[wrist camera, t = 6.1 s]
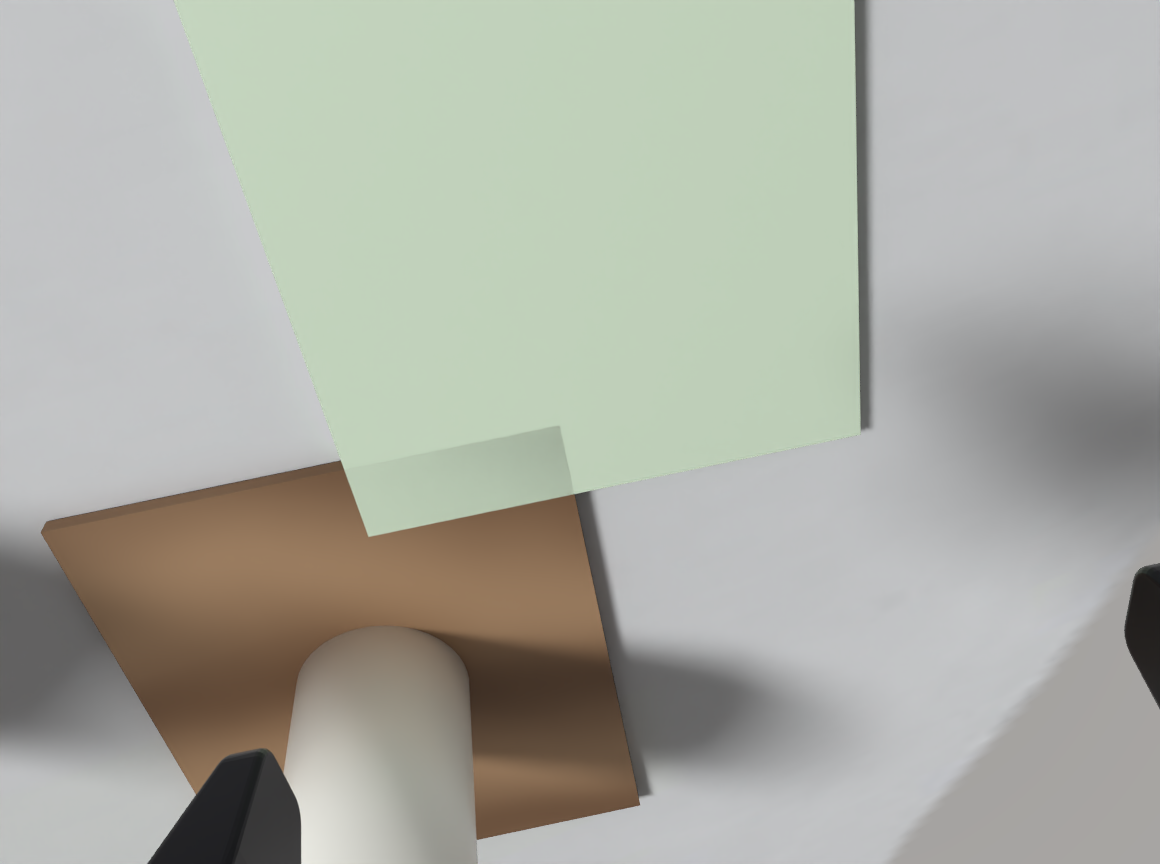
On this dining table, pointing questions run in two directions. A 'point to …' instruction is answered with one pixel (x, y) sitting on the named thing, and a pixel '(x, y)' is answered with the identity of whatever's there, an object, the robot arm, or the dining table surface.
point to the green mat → (550, 230)
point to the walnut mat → (361, 624)
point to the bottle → (383, 751)
